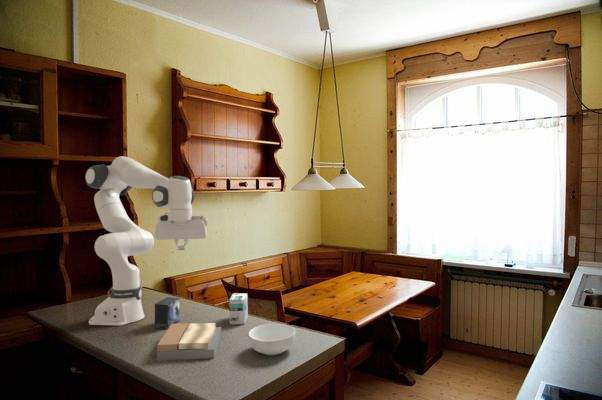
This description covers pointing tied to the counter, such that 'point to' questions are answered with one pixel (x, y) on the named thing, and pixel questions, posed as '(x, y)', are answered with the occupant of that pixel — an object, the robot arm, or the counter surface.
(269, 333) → the cereal bowl
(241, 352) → the counter surface
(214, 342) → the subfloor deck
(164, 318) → the small box
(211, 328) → the birch plank
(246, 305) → the light bulb box
